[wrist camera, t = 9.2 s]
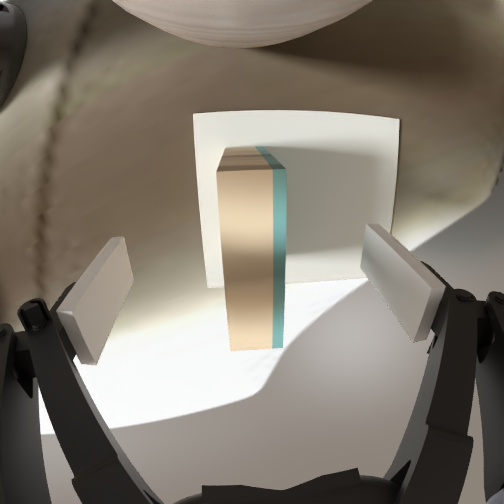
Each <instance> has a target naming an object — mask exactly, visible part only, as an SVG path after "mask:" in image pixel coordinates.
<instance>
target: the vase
mask: <svg viewBox="0 0 504 504" xmlns="http://www.w3.org/2000/svg"><path fill="white" fill-rule="evenodd" d="M112 1H113V2H115V3H116V4H117V5H119V6H120V7H121V8H123V9H124V10H126V11H127V12H129V13H130V14H132V15H134V16H136V17H138V18H140V19H142V20H144V21H146V22H148V23H149V24H151V25H153V26H155V27H157V28H159V29H161V30H163V31H166V32H168V33H171V34H173V35H176V36H178V37H181V38H184V39H186V40H189V41H193V42H197V43H201V44H205V45H208V46H216V47H223V48H254V47H263V46H268V45H273V44H278V43H282V42H285V41H289V40H292V39H295V38H298V37H301V36H304V35H306V34H309V33H311V32H313V31H316V30H318V29H320V28H323V27H325V26H327V25H330V24H332V23H334V22H337V21H339V20H341V19H343V18H345V17H347V16H348V15H350V14H352V13H353V12H355V11H357V10H358V9H360V8H362V7H363V6H365V5H366V4H368V3H370V2H371V1H373V0H112Z"/></svg>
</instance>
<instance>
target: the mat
mask: <svg viewBox="0 0 504 504" xmlns="http://www.w3.org/2000/svg"><path fill="white" fill-rule="evenodd" d="M193 122H194V140H195V156H196V170H197V184H198V196H199V208H200V219H201V230H202V240H203V249H204V259H205V268H206V277H207V285H208V288H214V287H224V275H223V263H222V250H221V237H220V224H219V209H218V194H217V178H216V171H217V168H218V165H219V163H220V160H221V157H222V155H223V152H224V150H225V148H229V147H253V146H262V147H264V148H265V149H266V150H267V151H268V152H269V153H270V154H271V155H272V156H273V157H274V158H275V159H276V160H277V161H279V162H280V163H281V164H282V165H283V166H284V167H285V168H286V169H287V205H286V268H285V284H289V283H305V282H319V281H332V280H345V279H358V278H367V276H366V275H365V274H364V272H363V271H362V270H361V268H360V264H361V257H362V251H363V243H364V236H365V228H366V224H374V223H378V224H379V225H380V226H382V227H383V228H384V229H385V230H386V231H387V232H388V233H390V230H391V223H392V215H393V206H394V197H395V187H396V176H397V162H398V144H399V119H394V118H387V117H379V116H370V115H361V114H350V113H338V112H322V111H297V110H252V111H227V112H211V113H198V114H193Z"/></svg>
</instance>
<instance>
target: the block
mask: <svg viewBox="0 0 504 504" xmlns="http://www.w3.org/2000/svg"><path fill="white" fill-rule="evenodd" d="M216 178H217V194H218V209H219V224H220V237H221V250H222V263H223V275H224V287H225V298H226V309H227V319H228V330H229V340H230V349H231V351H236V350H256V349H271V348H283V328H284V302H285V268H286V205H287V169H286V168H285V167H284V166H283V165H282V164H281V163H280V162H279V161H277V160H276V159H275V158H274V157H273V156H272V155H271V154H270V153H269V152H268V151H267V150H266V149H265V148H264V147H262V146H253V147H229V148H225V150H224V152H223V155H222V157H221V160H220V163H219V165H218V168H217V171H216Z"/></svg>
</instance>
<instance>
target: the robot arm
mask: <svg viewBox="0 0 504 504" xmlns="http://www.w3.org/2000/svg"><path fill="white" fill-rule="evenodd" d="M26 37H27V26H26V20H25V17H24V14H23V13H22V11H21V10H20V9H19V8H18V7H16V6H14V5H11V4H8V3H5V2H0V106H1V105H2V104H3V102H4V100H5V99H6V97H7V95H8V94H9V92H10V90H11V88H12V86H13V84H14V81H15V79H16V77H17V74H18V72H19V69H20V66H21V63H22V59H23V55H24V51H25V45H26ZM360 268H361V270H362V271H363V272H364V274H365V275H366V276H367V278H368V279H369V280H370V282H371V283H372V285H373V286H374V287H375V288H376V290H377V291H378V293H379V294H380V296H381V297H382V298H383V300H384V301H385V303H386V304H387V305H388V307H389V308H390V310H391V311H392V313H393V314H394V316H395V317H396V318H397V320H398V321H399V323H400V324H401V326H402V327H403V329H404V330H405V332H406V333H407V335H408V336H409V338H410V339H411V341H412V342H413V343H414V342H418V341H422V340H426V339H427V337H428V334H429V332H430V329H432V330H433V332H434V333H435V336H434V338H433V340H432V343H431V345H430V347H429V350H428V352H427V353H428V354H429V357H428V361H427V366H426V369H425V373H424V376H423V380H422V384H421V387H420V390H419V393H418V397H417V400H416V403H415V406H414V409H413V412H412V415H411V418H410V420H409V423H408V426H407V429H406V431H405V434H404V436H403V439H402V442H401V444H400V446H399V449H398V451H397V454H396V456H395V458H394V460H393V463H392V465H391V466H390V468H389V470H388V471H387V473H386V474H385V476H384V478H379V477H374V476H364V475H359V471H358V468H355V469H350V470H346V471H342V472H337V473H333V474H328V475H323V476H320V477H317V478H315V479H313V480H310V481H308V482H305V483H303V484H300V485H297V486H295V487H292V488H289V489H286V490H272V489H264V488H256V487H250V486H244V485H228V486H227V485H226V486H205V485H202V493H200V494H196V495H192V496H189V497H186V498H184V499H181V500H179V501H177V502H175V503H174V504H458V501H459V498H460V495H461V491H462V488H463V485H464V482H465V478H466V474H467V470H468V466H469V462H470V458H471V453H472V448H473V437H471V436H468V435H467V432H468V426H469V420H470V414H471V408H472V401H473V392H474V383H475V378H476V384H477V390H478V396H479V404H480V412H481V421H482V434H483V452H484V489H485V498H486V504H504V294H502V293H501V292H495V291H492V292H490V293H489V295H488V297H487V299H486V301H477V300H476V298H475V296H474V295H473V294H471V293H470V292H468V291H466V290H463V289H453V288H452V287H451V286H450V285H449V284H448V283H447V282H446V281H445V280H444V279H443V278H442V277H440V275H439V274H438V273H437V272H435V270H434V269H433V268H432V267H431V266H429V265H427V264H426V263H424V262H422V261H419V260H418V259H417V258H416V257H415V256H414V255H413V254H412V253H411V252H410V251H409V250H407V249H406V248H405V247H404V246H403V245H402V244H401V243H400V242H399V241H398V240H396V239H395V238H394V237H393V236H392V235H391V234H390V233H388V232H387V231H386V230H385V229H384V228H383V227H382V226H380V225H379V224H378V223H374V224H366V228H365V236H364V243H363V251H362V257H361V264H360ZM133 282H134V279H133V275H132V270H131V266H130V262H129V257H128V253H127V248H126V244H125V239H124V237H112V238H111V239H110V240H109V241H108V242H107V244H106V245H105V246H104V247H103V249H102V250H101V251H100V252H99V254H98V255H97V256H96V257H95V259H94V260H93V261H92V263H91V264H90V265H89V266H88V268H87V269H86V270H85V272H84V273H83V274H82V276H81V277H80V278H79V280H78V281H77V282H73V283H72V284H71V285H69V286H68V287H67V288H66V289H65V290H64V292H63V293H62V294H61V296H60V297H59V298H58V301H56V303H55V304H54V305H53V307H52V308H51V310H50V311H49V310H48V308H47V306H46V303H45V301H44V300H43V299H40V298H36V299H32V300H29V301H27V302H25V303H24V304H23V305H22V306H21V307H20V308H19V309H18V313H17V314H18V317H19V319H20V321H21V323H22V325H23V327H24V329H25V331H21V332H16V333H15V332H14V330H13V328H12V326H11V325H10V324H7V323H6V324H1V325H0V504H52V503H51V500H50V494H49V489H48V484H47V479H46V473H45V467H44V460H43V453H42V445H41V434H40V421H39V400H38V384H39V388H40V391H41V394H42V398H43V401H44V404H45V407H46V410H47V412H48V415H49V418H50V421H51V423H52V426H53V429H54V431H55V434H56V436H57V439H58V441H59V443H60V446H61V448H62V450H63V453H64V455H65V457H66V459H67V461H68V463H69V465H70V467H71V470H72V472H73V474H74V478H73V479H72V485H73V487H74V489H75V491H76V493H77V495H78V497H79V498H80V500H81V502H82V504H164V503H163V502H162V501H161V500H160V499H159V498H158V496H157V495H156V494H155V493H154V492H153V491H152V490H151V489H150V487H149V486H148V485H147V484H146V482H145V481H144V480H143V478H142V477H141V476H140V474H139V473H138V472H137V470H136V469H135V467H134V466H133V465H132V463H131V462H130V460H129V459H128V457H127V456H126V454H125V453H124V452H123V450H122V449H121V447H120V445H119V444H118V442H117V441H116V440H115V438H114V436H113V434H112V433H111V431H110V430H109V428H108V426H107V425H106V423H105V421H104V419H103V418H102V416H101V414H100V413H99V411H98V409H97V407H96V405H95V403H94V402H93V400H92V398H91V396H90V394H89V392H88V390H87V388H86V386H85V384H84V382H83V380H82V378H81V376H80V374H79V372H78V370H77V368H76V366H75V364H74V362H73V359H74V357H75V355H77V357H78V359H79V360H80V362H81V364H88V365H97V363H98V360H99V358H100V355H101V353H102V350H103V348H104V346H105V343H106V341H107V339H108V336H109V334H110V332H111V329H112V327H113V325H114V323H115V320H116V318H117V316H118V314H119V311H120V309H121V307H122V305H123V303H124V301H125V299H126V296H127V294H128V292H129V290H130V288H131V286H132V284H133Z"/></svg>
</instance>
